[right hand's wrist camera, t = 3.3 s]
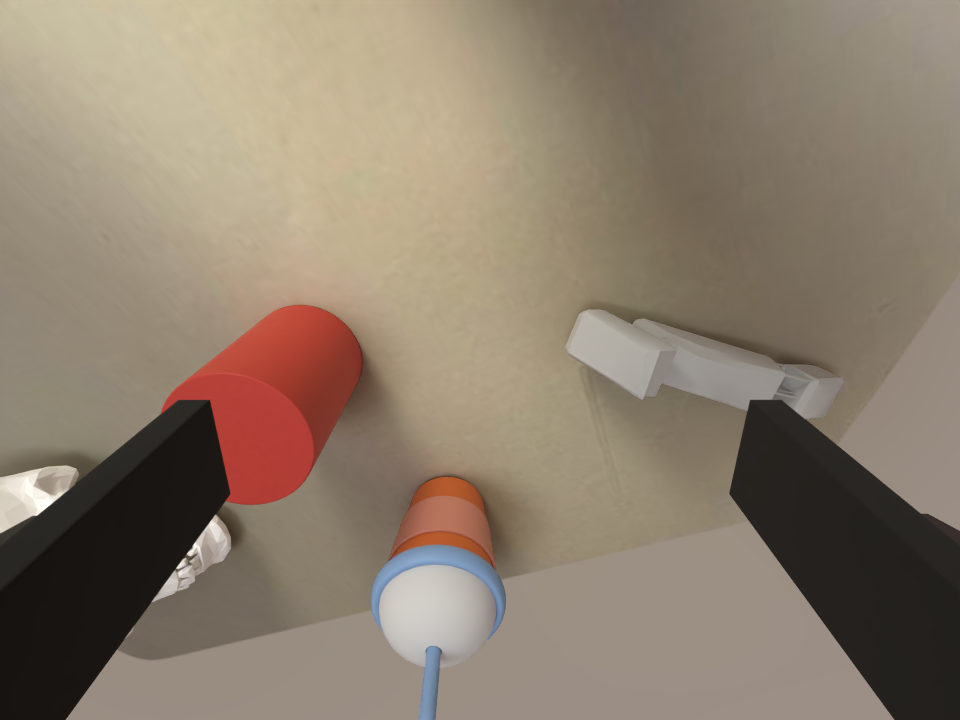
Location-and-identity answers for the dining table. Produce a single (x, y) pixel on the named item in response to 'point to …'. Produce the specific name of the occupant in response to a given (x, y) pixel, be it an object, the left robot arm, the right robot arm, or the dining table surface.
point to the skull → (37, 489)
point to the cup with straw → (440, 583)
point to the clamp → (694, 365)
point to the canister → (277, 398)
